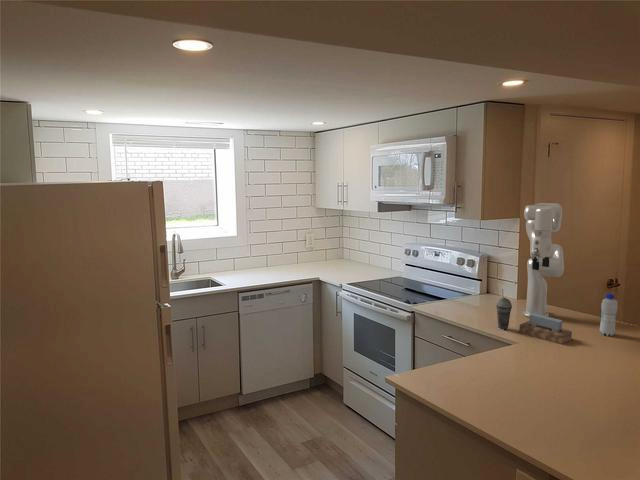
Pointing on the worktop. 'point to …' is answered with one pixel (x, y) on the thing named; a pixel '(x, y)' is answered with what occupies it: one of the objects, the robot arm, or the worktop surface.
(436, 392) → the worktop surface
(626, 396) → the worktop surface
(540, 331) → the brown rectangular block
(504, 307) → the beverage cup
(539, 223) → the robot arm
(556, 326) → the grey block
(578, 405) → the worktop surface
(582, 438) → the worktop surface
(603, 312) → the bottle
